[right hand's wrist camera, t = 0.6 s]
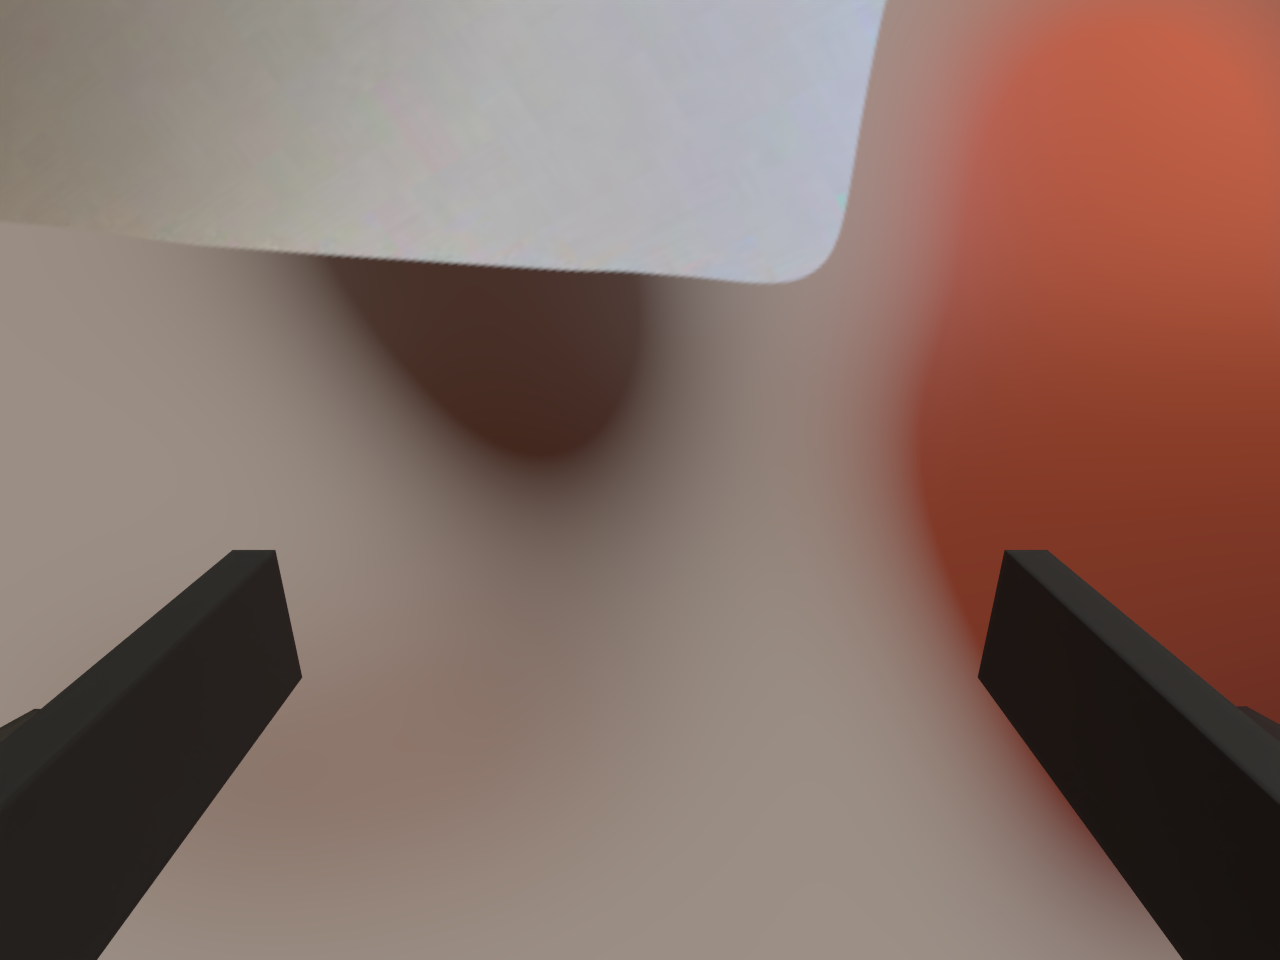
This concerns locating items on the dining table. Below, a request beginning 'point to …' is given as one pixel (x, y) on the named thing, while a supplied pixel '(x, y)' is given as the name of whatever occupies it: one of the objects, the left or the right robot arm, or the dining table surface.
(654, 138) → the dining table surface
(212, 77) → the dining table surface
